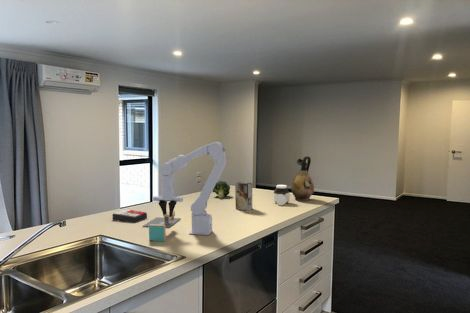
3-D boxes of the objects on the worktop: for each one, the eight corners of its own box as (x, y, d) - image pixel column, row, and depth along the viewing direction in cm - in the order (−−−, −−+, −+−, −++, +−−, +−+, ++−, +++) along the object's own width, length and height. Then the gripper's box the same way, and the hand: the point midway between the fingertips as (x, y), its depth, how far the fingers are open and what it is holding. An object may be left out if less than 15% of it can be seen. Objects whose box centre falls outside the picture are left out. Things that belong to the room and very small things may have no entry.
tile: (165, 240, 162) (165, 224, 161) (164, 241, 160) (163, 225, 159) (150, 239, 163) (150, 224, 163) (149, 240, 161) (148, 225, 161)
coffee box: (253, 208, 225) (252, 182, 224) (248, 210, 219) (248, 184, 218) (239, 207, 229) (239, 181, 228) (235, 209, 223) (234, 183, 222)
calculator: (135, 216, 193) (112, 212, 198) (134, 224, 193) (112, 220, 199) (147, 211, 203) (125, 208, 208) (147, 219, 203) (125, 215, 209)
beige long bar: (166, 219, 181) (166, 210, 181) (178, 220, 180) (178, 211, 180) (155, 227, 167) (155, 217, 167) (168, 227, 166) (168, 218, 166)
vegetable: (208, 195, 257) (210, 183, 270) (220, 206, 262) (222, 194, 275) (221, 186, 253) (222, 174, 266) (233, 197, 257) (234, 185, 270)
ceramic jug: (303, 202, 241) (304, 157, 238) (286, 199, 253) (286, 156, 250) (320, 199, 251) (320, 156, 249) (302, 196, 263) (303, 155, 261)
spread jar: (284, 201, 247) (284, 184, 246) (294, 204, 236) (294, 186, 235) (269, 202, 241) (269, 185, 240) (278, 206, 231) (278, 187, 230)
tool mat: (180, 219, 199) (180, 218, 199) (169, 228, 181) (169, 227, 181) (156, 218, 202) (156, 217, 202) (142, 226, 184) (142, 225, 184)
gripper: (184, 187, 176) (185, 214, 177) (156, 186, 178) (156, 213, 179) (180, 189, 169) (180, 218, 170) (150, 188, 171) (151, 217, 172)
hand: (168, 216), depth 174 cm, fingers closed on beige long bar, 2 cm apart
